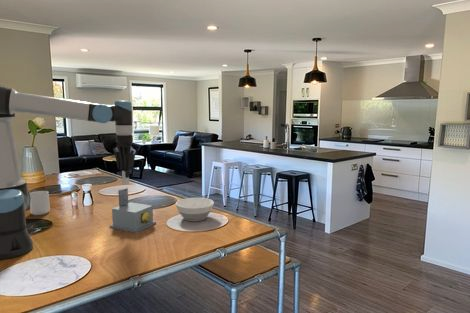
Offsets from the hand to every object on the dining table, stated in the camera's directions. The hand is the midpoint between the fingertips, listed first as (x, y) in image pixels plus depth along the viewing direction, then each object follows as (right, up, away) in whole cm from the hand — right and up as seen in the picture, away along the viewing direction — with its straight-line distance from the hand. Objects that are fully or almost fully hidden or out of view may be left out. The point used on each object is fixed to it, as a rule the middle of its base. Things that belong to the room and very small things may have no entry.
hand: (125, 184), depth 159 cm
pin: (+3, -17, +1) cm, 18 cm away
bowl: (+31, -19, +13) cm, 39 cm away
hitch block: (+3, -20, +2) cm, 20 cm away
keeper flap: (-1, -6, +2) cm, 7 cm away
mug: (-53, -17, +21) cm, 59 cm away
